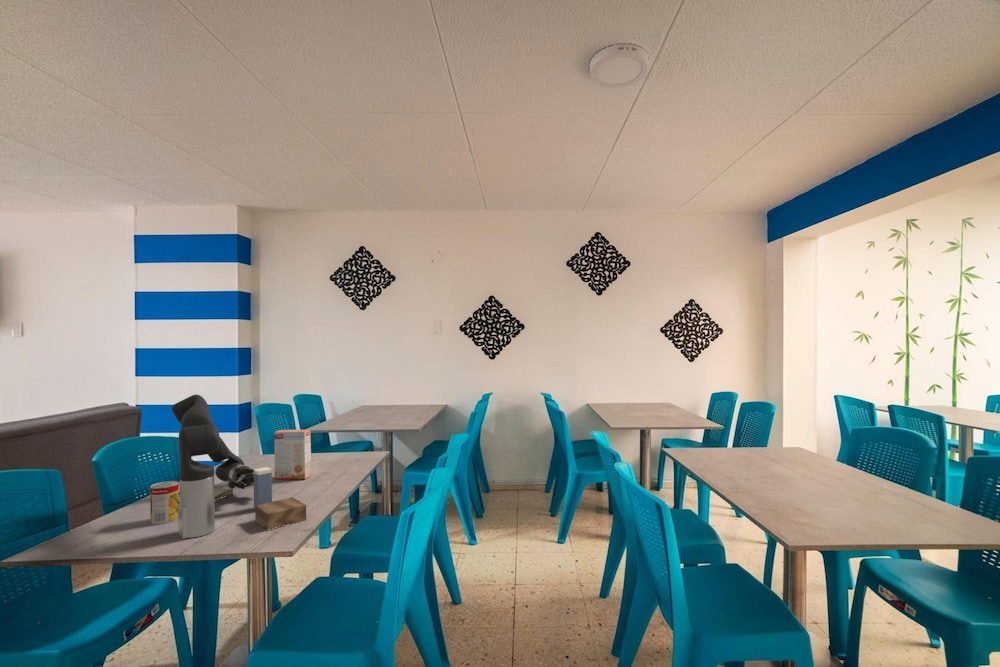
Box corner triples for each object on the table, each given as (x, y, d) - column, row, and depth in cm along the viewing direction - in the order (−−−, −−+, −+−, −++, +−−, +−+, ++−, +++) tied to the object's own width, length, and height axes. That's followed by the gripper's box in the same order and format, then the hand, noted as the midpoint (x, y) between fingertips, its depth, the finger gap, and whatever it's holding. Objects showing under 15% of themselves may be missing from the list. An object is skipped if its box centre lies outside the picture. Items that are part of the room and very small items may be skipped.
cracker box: (311, 476, 212) (311, 429, 213) (304, 480, 206) (304, 431, 207) (281, 475, 214) (281, 429, 214) (274, 479, 208) (273, 431, 208)
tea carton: (258, 511, 168) (258, 471, 168) (254, 508, 171) (253, 469, 172) (272, 508, 171) (271, 469, 171) (267, 505, 174) (267, 466, 175)
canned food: (181, 514, 167) (181, 479, 167) (175, 522, 159) (175, 486, 160) (154, 517, 164) (154, 482, 164) (147, 525, 156) (147, 489, 157)
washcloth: (170, 509, 174) (170, 500, 174) (206, 493, 192) (206, 485, 192) (200, 510, 172) (200, 501, 172) (234, 494, 190) (233, 486, 190)
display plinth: (268, 530, 151) (268, 514, 151) (255, 520, 159) (255, 505, 159) (306, 520, 159) (306, 504, 159) (292, 511, 168) (291, 497, 168)
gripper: (221, 469, 183) (234, 477, 171) (261, 462, 193) (276, 469, 181) (222, 489, 183) (235, 498, 171) (261, 481, 193) (276, 489, 181)
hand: (256, 483), depth 176 cm, fingers open, 8 cm apart
